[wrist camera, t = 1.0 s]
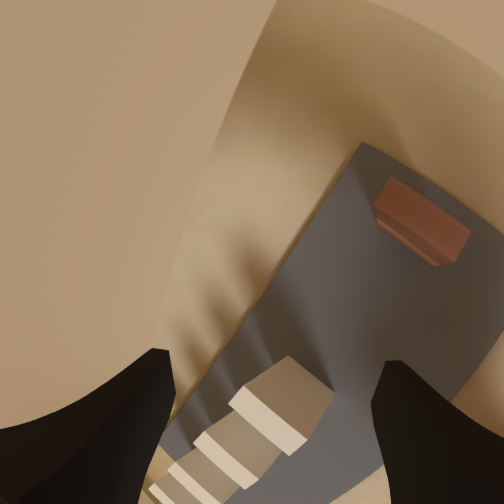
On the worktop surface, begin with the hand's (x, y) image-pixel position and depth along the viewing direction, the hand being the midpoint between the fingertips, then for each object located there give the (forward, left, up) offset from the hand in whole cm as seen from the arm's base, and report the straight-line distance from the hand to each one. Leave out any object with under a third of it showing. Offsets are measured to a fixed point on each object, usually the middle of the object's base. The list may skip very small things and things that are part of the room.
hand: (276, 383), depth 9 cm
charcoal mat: (-2, +5, -12) cm, 13 cm away
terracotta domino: (-1, -8, -11) cm, 14 cm away
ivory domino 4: (-1, +5, -11) cm, 12 cm away
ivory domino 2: (-1, +14, -11) cm, 18 cm away
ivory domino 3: (-1, +9, -11) cm, 15 cm away
